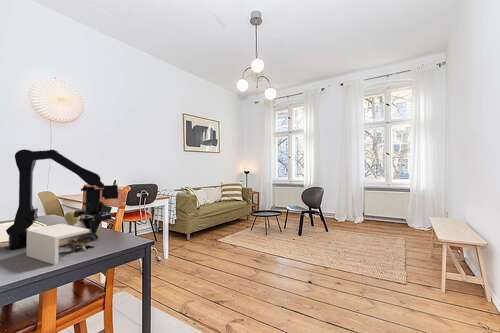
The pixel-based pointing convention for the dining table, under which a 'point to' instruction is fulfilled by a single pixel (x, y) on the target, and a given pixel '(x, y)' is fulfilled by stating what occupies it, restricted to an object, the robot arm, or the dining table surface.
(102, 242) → the dining table surface
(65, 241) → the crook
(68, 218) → the light bulb
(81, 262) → the dining table surface
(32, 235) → the low shelf
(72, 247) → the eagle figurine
